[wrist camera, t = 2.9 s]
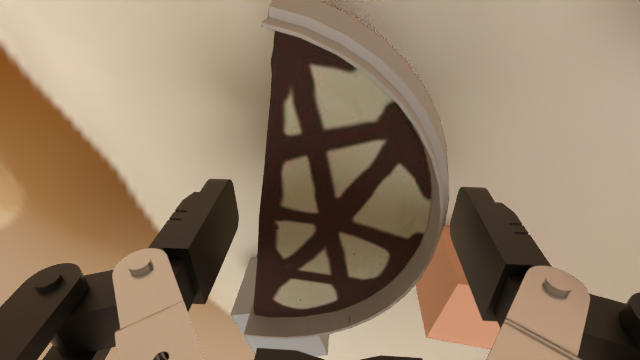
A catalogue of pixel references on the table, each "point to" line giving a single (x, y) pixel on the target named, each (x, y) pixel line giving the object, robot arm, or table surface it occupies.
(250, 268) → the slate grey block
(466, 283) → the terracotta block
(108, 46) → the table surface
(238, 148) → the table surface
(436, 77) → the table surface
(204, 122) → the table surface
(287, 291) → the food container
